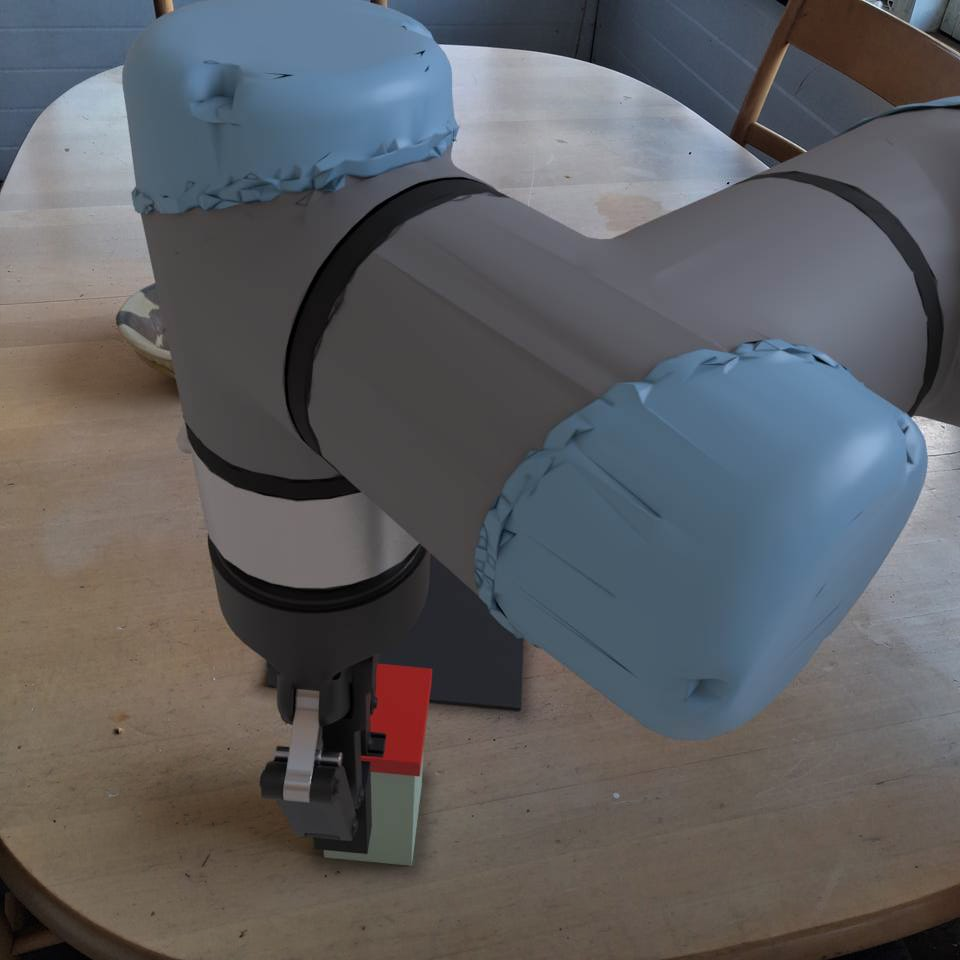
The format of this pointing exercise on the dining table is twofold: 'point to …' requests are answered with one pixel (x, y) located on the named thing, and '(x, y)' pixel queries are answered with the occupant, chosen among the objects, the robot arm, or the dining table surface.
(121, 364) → the dining table surface
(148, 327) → the bowl
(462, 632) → the mat
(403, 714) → the container
